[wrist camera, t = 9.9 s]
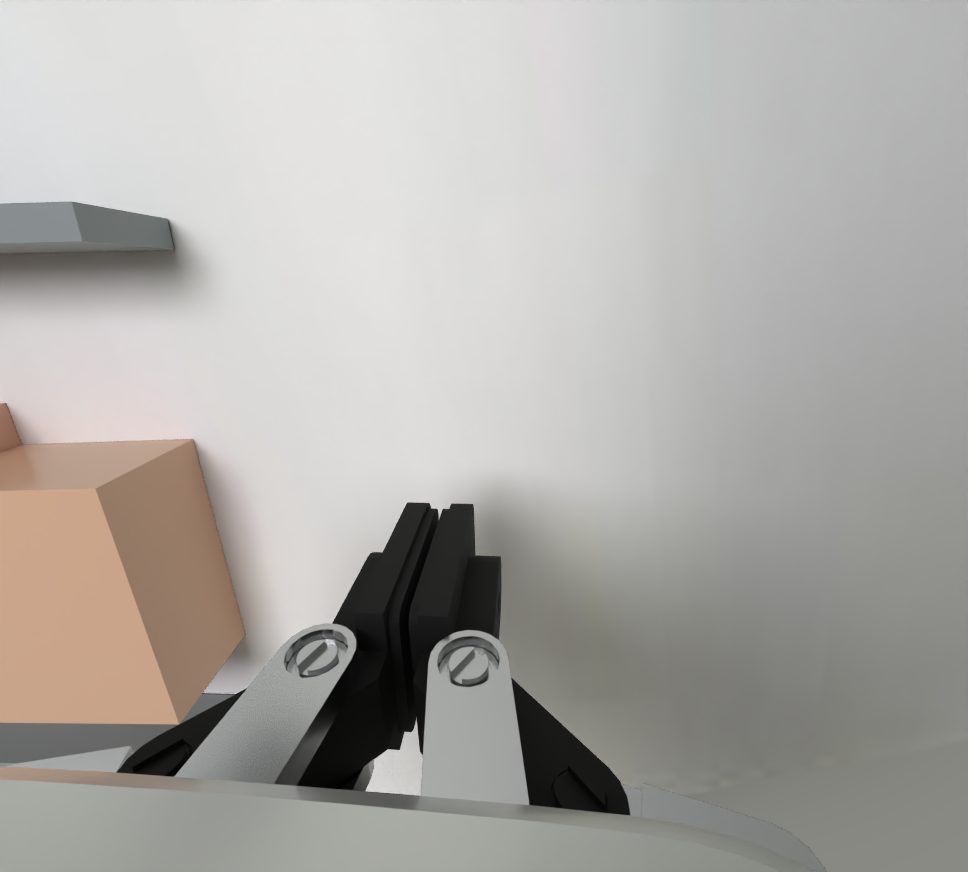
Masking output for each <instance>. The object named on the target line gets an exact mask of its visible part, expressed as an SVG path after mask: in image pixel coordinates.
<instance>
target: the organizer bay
mask: <svg viewBox="0 0 968 872" xmlns="http://www.w3.org/2000/svg"><path fill="white" fill-rule="evenodd" d="M132 250H174V246H173V242H172V237H171V233H170V228H169V224H168V219H165V218H160V217H154V216H149V215H143V214H137V213H132V212H126V211H121V210H115V209H110V208H104V207H98V206H93V205H87V204H82V203H76V202H44V203H10V204H0V254H5V253H47V252H90V251H132ZM231 696H233V695H221V694H201V696H200V697H199V698H198V700H197V701H196V702H195V704H194V705H193V707H192V708H191V709H190V711H189V712H188V713H187V715H186V716H185V717H184V719H183V720H182V721H181V723H183V722H185V721H186V720H188V719H190V718H192V717H194V716H196V715H198V714H200V713H201V712H203V711H205V710H207V709H209V708H211V707H213V706H215V705H216V704H218V703H220V702H222V701H224V700H226V699H228V698H230V697H231ZM181 723H180V724H181ZM177 725H179V724H85V723H0V767H6V766H9V765H13V764H17V763H24V762H30V761H36V760H43V759H49V758H56V757H62V756H68V755H75V754H81V753H88V752H94V751H100V750H107V749H113V748H120V747H126V746H131V747H132V749H133V752H136V751H137V750H138V749H139V748H140V747H141V746H143V745H144V744H146V743H147V742H149V741H150V740H152V739H153V738H155V737H157V736H158V735H160V734H162V733H164V732H166V731H168V730H170V729H171V728H173V727H175V726H177Z"/></svg>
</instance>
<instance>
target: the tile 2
mask: <svg viewBox="0 0 968 872" xmlns="http://www.w3.org/2000/svg"><path fill="white" fill-rule="evenodd" d="M245 635H246V634H245V630H244V627H243V623H242V619H241V615H240V612H239V608H238V604H237V601H236V597H235V593H234V589H233V586H232V582H231V578H230V574H229V571H228V567H227V563H226V560H225V556H224V552H223V548H222V545H221V541H220V537H219V533H218V530H217V526H216V522H215V519H214V515H213V511H212V507H211V504H210V500H209V496H208V493H207V489H206V485H205V481H204V478H203V474H202V470H201V466H200V463H199V459H198V455H197V452H196V448H195V444H194V440H193V439H175V440H144V441H113V442H83V443H52V444H22V445H20V446H17V447H14V448H11V449H8V450H5V451H2V452H0V723H85V724H180V723H181V721H182V720H183V719H184V717H185V716H186V715H187V713H188V712H189V711H190V709H191V708H192V707H193V705H194V704H195V702H196V701H197V700H198V698H199V697H200V696H201V694H202V693H203V692H204V690H205V689H206V688H207V686H208V685H209V683H210V682H211V681H212V679H213V678H214V677H215V675H216V674H217V673H218V671H219V670H220V669H221V667H222V666H223V665H224V663H225V662H226V660H227V659H228V658H229V656H230V655H231V654H232V652H233V651H234V650H235V648H236V647H237V646H238V644H239V643H240V641H241V640H242V639H243V637H244V636H245Z"/></svg>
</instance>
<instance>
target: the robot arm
mask: <svg viewBox="0 0 968 872" xmlns="http://www.w3.org/2000/svg"><path fill="white" fill-rule="evenodd" d="M500 613H501V557H500V556H475V531H474V507H473V504H451V506H450V509H443V510H442V513H441V516H440V519H439V517H438V510H437V509H431V506H430V504H429V503H407V504H406V506H405V508H404V510H403V512H402V514H401V516H400V518H399V520H398V522H397V524H396V526H395V529H394V531H393V533H392V535H391V537H390V539H389V541H388V543H387V545H386V547H385V549H384V551H383V553H380V552H373V553H370V555H369V556H368V558H367V560H366V561H365V563H364V565H363V567H362V569H361V571H360V573H359V575H358V576H357V578H356V580H355V582H354V584H353V586H352V588H351V589H350V591H349V593H348V595H347V597H346V599H345V601H344V603H343V604H342V606H341V608H340V610H339V612H338V614H337V616H336V618H335V619H334V621H333V623H332V624H321V625H315V626H312V627H309V628H307V629H304V630H302V631H300V632H299V633H297V634H296V635H294V636H292V637H291V638H290V639H289V640H288V641H287V642H286V643H285V644H284V645H283V646H282V647H281V648H280V649H279V650H278V652H277V653H276V654H275V655H274V657H273V658H272V659H271V660H270V661H269V663H268V664H267V665H266V666H265V667H264V669H263V670H262V671H261V672H260V673H259V675H258V676H257V677H256V678H255V680H254V681H253V682H252V683H251V684H250V686H249V687H248V688H246V689H245V690H243V691H241V692H239V693H237V694H235V695H233V696H231V697H230V698H228V699H226V700H224V701H222V702H220V703H218V704H216V705H215V706H213V707H211V708H209V709H207V710H205V711H203V712H201V713H200V714H198V715H196V716H194V717H192V718H190V719H188V720H186V721H185V722H183V723H181V724H179V725H177V726H175V727H173V728H171V729H170V730H168V731H166V732H164V733H162V734H160V735H158V736H157V737H155V738H153V739H152V740H150V741H149V742H147V743H146V744H144V745H143V746H141V747H140V748H139V749H138V750H137V751H136V752H133V749H132V747H131V746H126V747H120V748H113V749H107V750H100V751H94V752H88V753H81V754H75V755H68V756H62V757H56V758H49V759H43V760H36V761H30V762H24V763H17V764H13V765H9V766H6V767H0V872H827V871H826V869H825V867H824V866H823V865H822V864H821V862H820V861H819V859H818V858H817V857H816V856H815V854H814V853H813V852H812V851H811V849H810V848H809V847H808V846H806V845H805V844H804V843H803V842H802V841H800V840H799V839H798V838H797V837H796V836H794V835H793V834H792V833H791V832H789V831H787V830H785V829H783V828H781V827H778V826H776V825H774V824H772V823H770V822H766V821H763V820H760V819H757V818H754V817H750V816H747V815H744V814H741V813H738V812H734V811H731V810H728V809H725V808H722V807H718V806H715V805H712V804H709V803H705V802H702V801H699V800H696V799H693V798H689V797H686V796H683V795H680V794H677V793H673V792H670V791H667V790H664V789H660V788H657V787H654V786H651V785H648V784H644V783H643V786H642V790H640V789H636V788H633V787H630V786H627V785H624V784H621V783H620V781H619V780H618V778H617V777H616V776H615V775H614V774H613V772H612V771H611V770H610V769H609V768H608V767H607V766H606V765H605V764H604V763H603V762H602V761H601V760H600V759H599V758H597V757H596V756H595V755H594V754H593V753H592V752H591V751H590V750H589V749H588V748H587V747H586V746H585V745H583V744H582V743H581V742H580V741H579V740H578V739H577V738H576V737H575V736H574V735H573V734H572V733H570V732H569V731H568V730H567V729H566V728H565V727H564V726H563V725H562V724H561V723H560V722H559V721H557V720H556V719H555V718H554V717H553V716H552V715H551V714H550V713H549V712H548V711H547V710H546V709H544V708H543V707H542V706H541V705H540V704H539V703H538V702H537V701H536V700H535V699H534V698H533V697H532V696H530V695H529V694H528V693H527V692H526V691H525V690H524V689H523V688H522V687H521V686H520V685H519V684H517V683H516V682H515V681H514V680H513V679H512V678H511V673H510V666H509V659H508V655H507V652H506V649H505V647H504V646H503V645H502V644H501V642H500V641H499V629H500ZM416 717H417V726H418V736H419V746H420V752H421V753H422V755H423V763H422V780H421V796H415V795H403V794H391V793H379V792H366V791H365V790H366V788H367V786H368V784H369V781H370V779H371V776H372V773H373V769H374V759H375V758H376V757H378V756H379V755H380V754H382V753H383V752H384V751H386V750H387V749H394V750H400V747H401V743H402V739H403V735H404V731H405V732H412V731H413V729H414V725H415V721H416Z"/></svg>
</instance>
